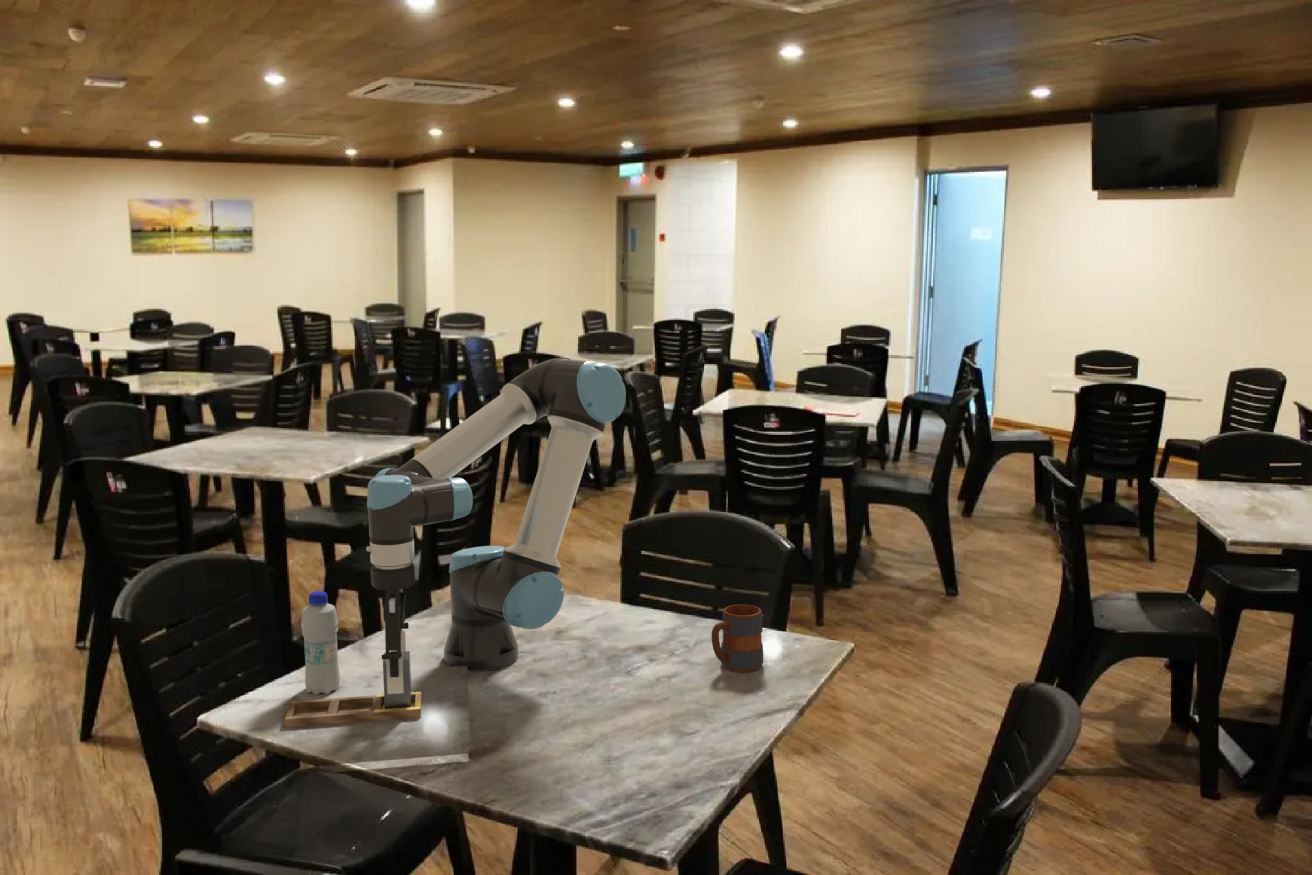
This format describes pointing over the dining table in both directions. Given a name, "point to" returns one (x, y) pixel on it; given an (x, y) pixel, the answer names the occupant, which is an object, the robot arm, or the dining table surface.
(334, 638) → the bottle
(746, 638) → the mug
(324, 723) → the wooden compartment tray
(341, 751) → the dining table surface
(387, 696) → the block
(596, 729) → the dining table surface
